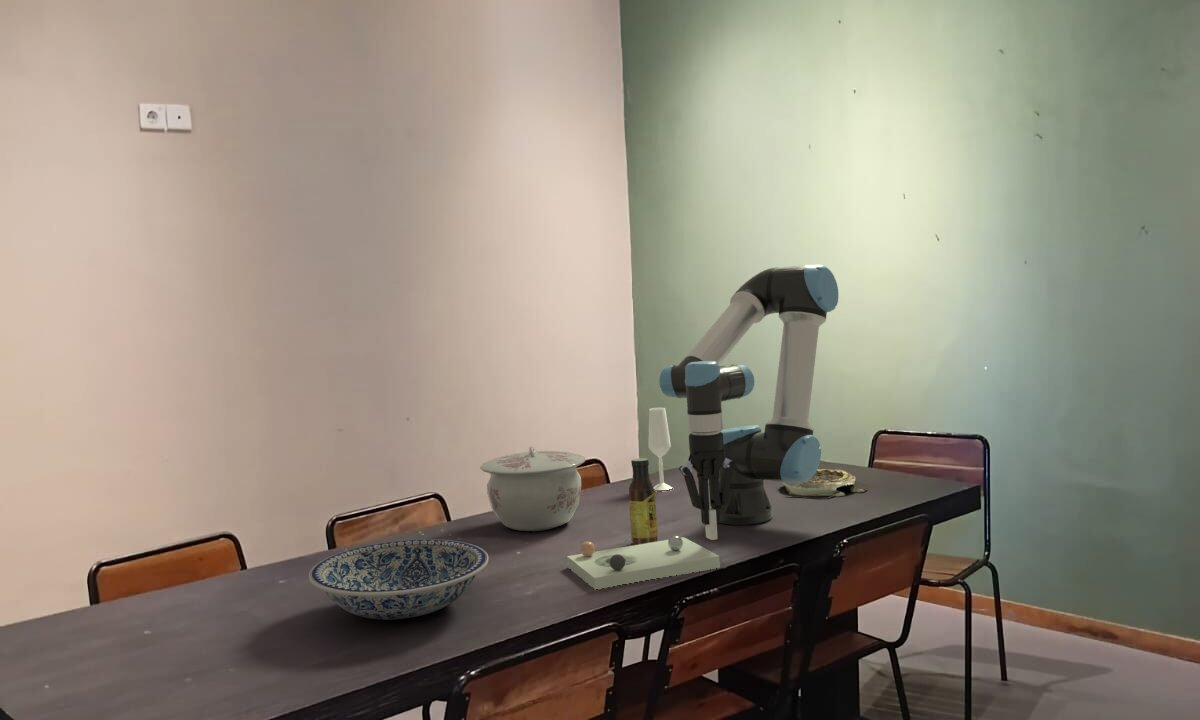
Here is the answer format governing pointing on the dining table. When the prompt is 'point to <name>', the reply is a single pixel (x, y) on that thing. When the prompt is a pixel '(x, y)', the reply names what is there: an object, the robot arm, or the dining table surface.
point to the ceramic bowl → (399, 576)
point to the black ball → (617, 562)
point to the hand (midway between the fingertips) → (711, 538)
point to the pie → (823, 484)
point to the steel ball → (675, 543)
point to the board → (642, 563)
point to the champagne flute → (659, 440)
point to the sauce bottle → (642, 504)
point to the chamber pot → (534, 488)
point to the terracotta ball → (587, 548)
